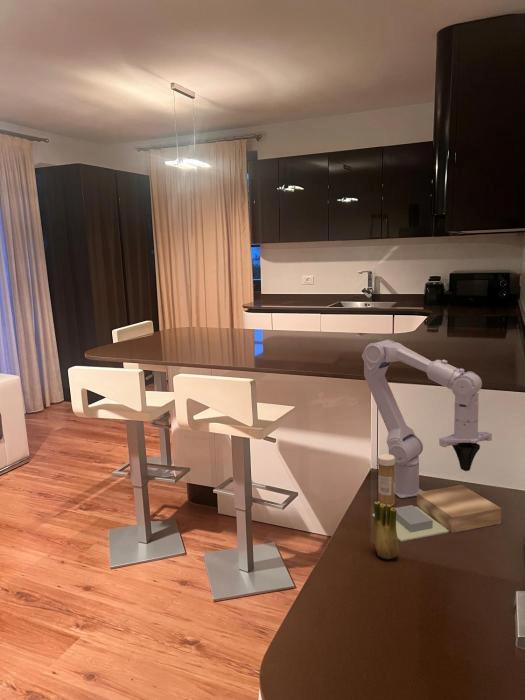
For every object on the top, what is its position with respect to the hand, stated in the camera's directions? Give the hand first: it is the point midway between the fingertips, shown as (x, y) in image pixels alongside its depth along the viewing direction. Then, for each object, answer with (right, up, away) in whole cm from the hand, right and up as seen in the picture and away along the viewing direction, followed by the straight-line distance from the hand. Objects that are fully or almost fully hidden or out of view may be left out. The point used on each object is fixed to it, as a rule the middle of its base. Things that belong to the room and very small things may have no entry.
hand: (465, 469), depth 132 cm
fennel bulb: (-26, -15, -20) cm, 36 cm away
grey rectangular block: (-16, -10, -7) cm, 20 cm away
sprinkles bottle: (-19, -11, +5) cm, 23 cm away
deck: (-3, -11, -3) cm, 12 cm away
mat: (-17, -12, -6) cm, 21 cm away
